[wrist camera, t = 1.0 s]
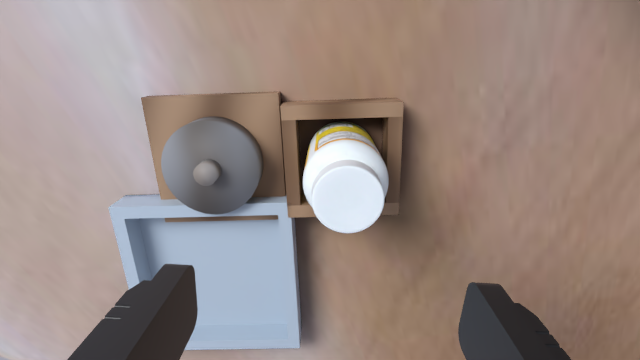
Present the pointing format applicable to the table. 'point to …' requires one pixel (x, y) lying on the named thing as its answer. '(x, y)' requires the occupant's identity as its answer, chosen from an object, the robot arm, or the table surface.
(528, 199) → the table surface
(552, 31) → the table surface
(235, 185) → the block
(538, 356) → the robot arm
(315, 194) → the supplement bottle
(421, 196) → the table surface
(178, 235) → the tray
